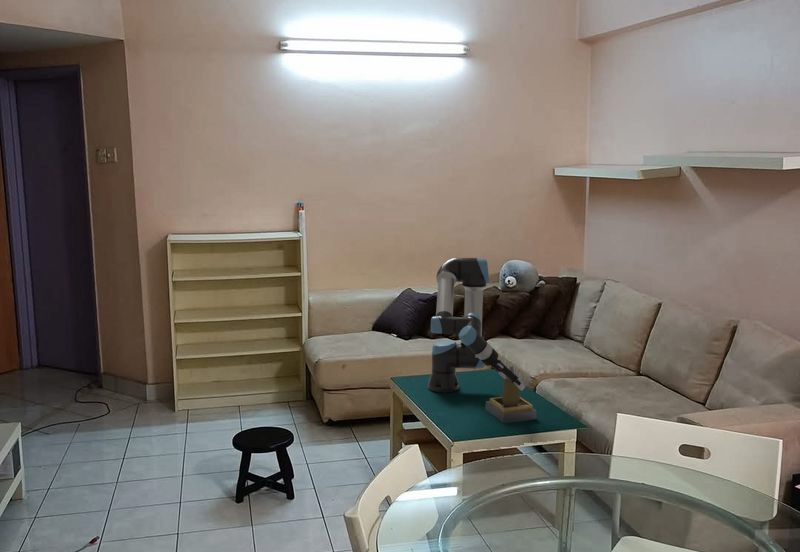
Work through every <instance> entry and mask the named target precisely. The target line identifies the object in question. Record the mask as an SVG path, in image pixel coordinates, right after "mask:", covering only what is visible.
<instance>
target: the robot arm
mask: <svg viewBox="0 0 800 552" xmlns="http://www.w3.org/2000/svg"><path fill="white" fill-rule="evenodd" d="M489 275H490V274H489V267H488V259H486V258H482V257H452V258H450V259H448V260H446V261H444V263H443V264H441V266H440V267H439V269H438V270H437V273H436V279H435V280H436V284H437V296H436V309H435V310H436V312H435V316H432V317H431V319H430V332H431V333H433V334H440V335H441V334H443V335H458V339H459V340H460V344H459V343H457V342H456V341H455V340H453V339H445V340H439V341H437V342H435V343H434V344H433V345H432V349H431V350H432V351H431V373H430V376H429V379H428V382H427V389H428V390H430V391H432V392H435V393H453V392H456V391H458V390H459V387H460V383H459V380H458V378H457V377H458V376H457V374H456V369H469V370H470V369H473V370H478V369H479V370H482V369H483V368H485V366H486V367H489V366H491V368H492V369H493V371H496V372H497V373H498V374H499V376H501V377H502V378H503V380H505V379H506V376H507V377H508V378H509V379H511V380H512V383H514V384H515V385H516V386H517V387H518V388H519V391H521V392H523V390H524V389H525V388H527V386H526V385H525V384H524V383H523V382H522V381H521V380H520V379H519V377H518V376H516V375H517V374H516V373H515V372H514V373H512V372H511V371H510V368H509V367H507V366H506V365H505V363H503V362H502V361H501V360H500V359H498V358H499V353H498V352H497V351H496V349H494V348H493V346H491V344H490V343H488V342H487V341H486V339H484V338H483V336H482V333H483V332H482V331H483V303H484V302H483V301H484V299H483V297H484V289H485V288H486V287H487V284H489V283H490V276H489ZM457 282H458V283H461V286H462V288H463V289H464V311H463V312H464V316H461V317H460V316H453V315H454V296H455V295H454V294H455V285H456V284H457ZM515 374H516V375H515Z"/></svg>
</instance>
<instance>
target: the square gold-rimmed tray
mask: <svg viewBox="0 0 800 552" xmlns="http://www.w3.org/2000/svg"><path fill="white" fill-rule="evenodd" d="M484 409H485V411H486V412H488V414H490V415H491V416H493V417H494V418H496V419H497V420H498V421H500V422H501V423H503V424H509V423H517V422H526V421H532V420H533V421H534V420H537V415H538V414H537V413H538V412H537V409H535V408H534V405H533V404H532V403H530V402H529V401H527V400H525V398H523V397H521V396H520V400H519V403H518V405H517V406H513V407H505V406H504V404H503V400H502V396H499V397H489V400H486V401H485V408H484Z"/></svg>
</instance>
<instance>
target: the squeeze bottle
mask: <svg viewBox="0 0 800 552" xmlns="http://www.w3.org/2000/svg"><path fill="white" fill-rule="evenodd" d="M509 370H510V371H511V372H512V373H514V374H515V375H516V376H517V374H516V373H515V370H514V366H510V368H509ZM517 377H518V376H517ZM520 391H521V390H520V389H519V388H518V387H517V386H516V385H515V384H514V383H512V380H511V379H509V378H508V377H507V376H506V379H503V385H502V392H501V397H502V400H503V404H504V406H505V407H513V406H517V405H518V403H519V400H520V397H521V395H520V393H521V392H520Z"/></svg>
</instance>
